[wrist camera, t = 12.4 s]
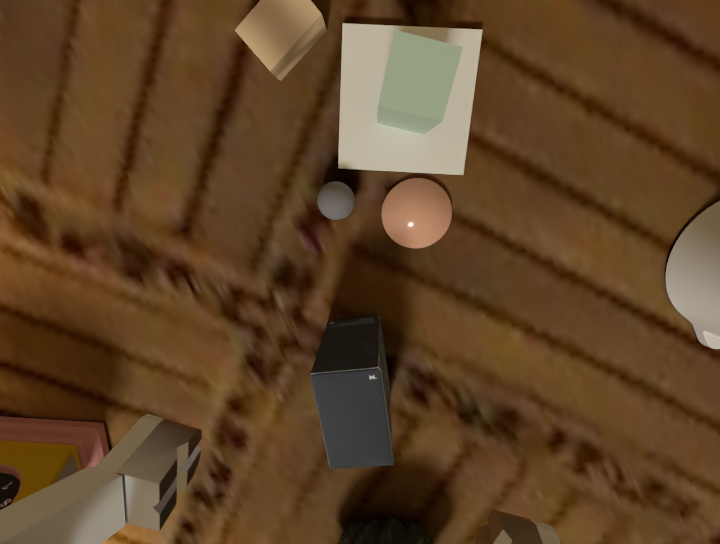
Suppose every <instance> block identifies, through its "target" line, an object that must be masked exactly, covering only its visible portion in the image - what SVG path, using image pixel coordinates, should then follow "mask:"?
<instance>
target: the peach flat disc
mask: <svg viewBox="0 0 720 544" xmlns="http://www.w3.org/2000/svg"><path fill="white" fill-rule="evenodd" d="M451 217H452V206H451V202H450V199H449V197H448V195H447V193H446V192H445V190H444V189H443V188H442V187H441V186H439V185H438V184H437V183H435V182H433V181H431V180H428V179H424V178H412V179H408V180H405V181H402V182H400V183H399V184H397V185H396V186H395V187H393V188H392V190H391V191H390V192H389V193H388V195H387V196H386V198H385V200H384V203H383V206H382V222H383V226H384V228H385V230H386V232H387V234H388V235H389V236H390V238H391V239H393V240H394V241H395V242H396V243H398V244H400V245H402V246H404V247H408V248H423V247H427V246H429V245H431V244H433V243H435V242H436V241H438V240H439V239H440V238H441V237H442V236H443V235H444V234H445V232H446V231H447V229H448V227H449V225H450V222H451Z"/></svg>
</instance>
